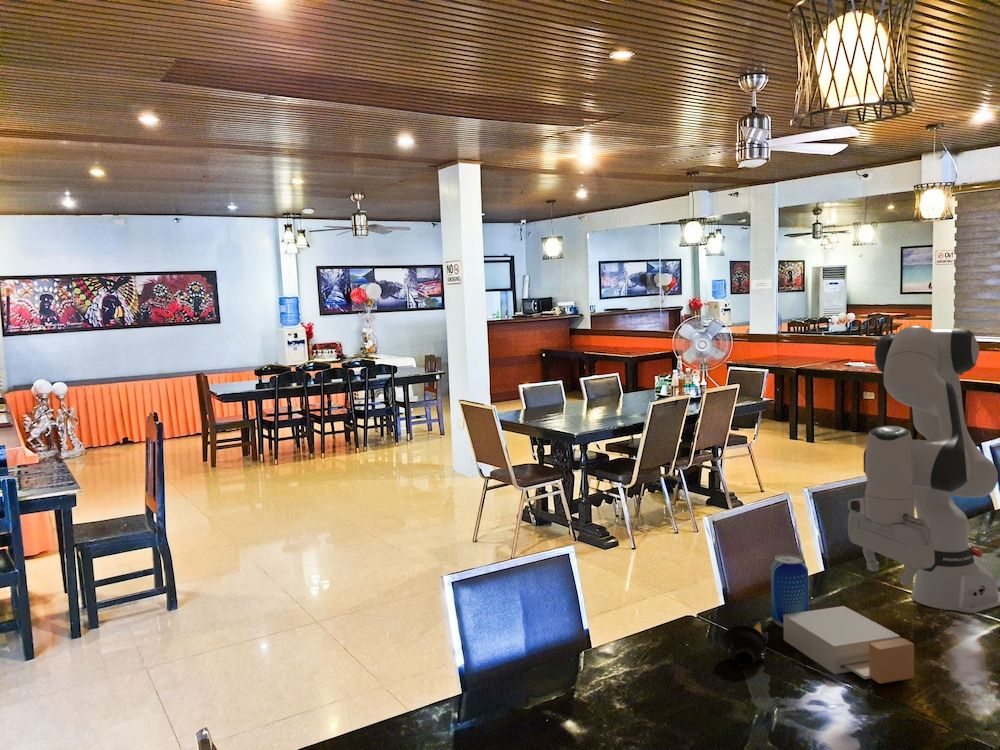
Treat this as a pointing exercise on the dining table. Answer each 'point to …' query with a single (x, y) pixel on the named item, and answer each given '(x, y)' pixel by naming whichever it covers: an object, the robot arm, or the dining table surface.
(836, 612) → the block
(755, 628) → the fried shrimp in bowl
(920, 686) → the dining table surface
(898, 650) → the tan-tipped white bar
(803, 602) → the beer can
